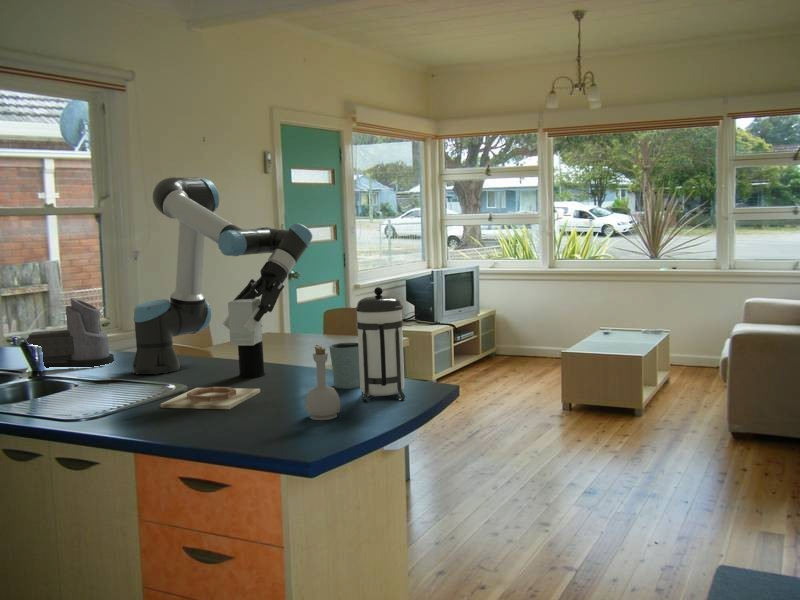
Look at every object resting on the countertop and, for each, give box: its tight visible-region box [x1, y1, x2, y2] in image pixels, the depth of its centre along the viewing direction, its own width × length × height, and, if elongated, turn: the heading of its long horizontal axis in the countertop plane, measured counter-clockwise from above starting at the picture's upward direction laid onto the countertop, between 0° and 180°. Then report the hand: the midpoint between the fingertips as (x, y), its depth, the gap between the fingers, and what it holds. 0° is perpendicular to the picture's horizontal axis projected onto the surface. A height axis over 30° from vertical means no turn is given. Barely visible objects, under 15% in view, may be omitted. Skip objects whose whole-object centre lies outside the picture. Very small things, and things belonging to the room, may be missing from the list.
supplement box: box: [227, 298, 263, 346], centre depth 231 cm, size 7×7×13 cm
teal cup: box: [329, 342, 360, 390], centre depth 234 cm, size 10×10×12 cm
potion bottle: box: [304, 344, 342, 421], centre depth 198 cm, size 9×9×18 cm
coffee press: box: [354, 286, 406, 403], centre depth 215 cm, size 17×16×30 cm
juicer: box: [25, 297, 115, 368], centre depth 283 cm, size 30×16×24 cm, turn 104°
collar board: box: [160, 386, 261, 410], centre depth 222 cm, size 20×20×2 cm
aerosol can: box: [237, 340, 266, 379], centre depth 254 cm, size 8×8×20 cm
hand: (236, 328), depth 228 cm, fingers closed on supplement box, 10 cm apart
